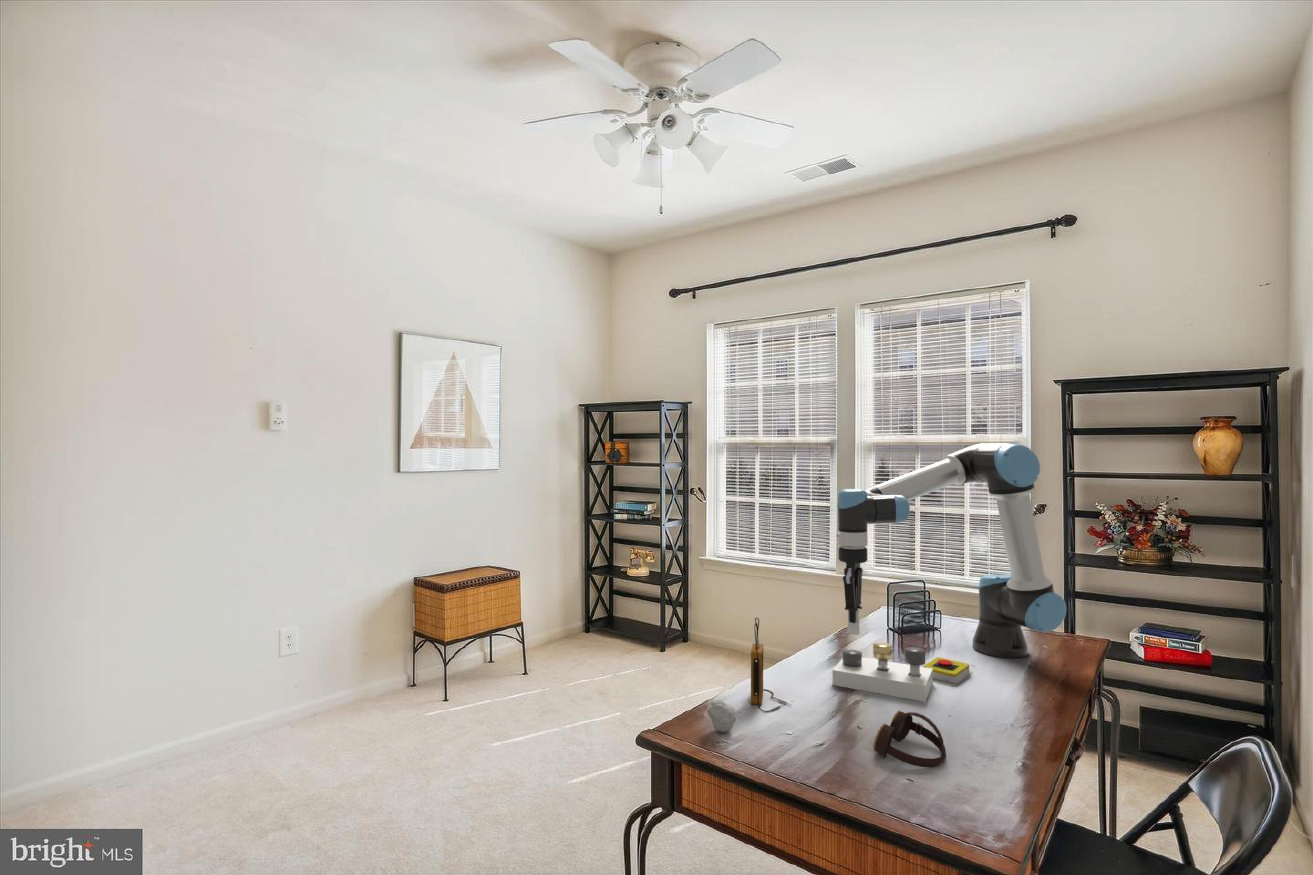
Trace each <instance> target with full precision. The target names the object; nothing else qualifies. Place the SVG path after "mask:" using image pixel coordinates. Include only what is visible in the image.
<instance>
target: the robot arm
mask: <svg viewBox="0 0 1313 875" xmlns="http://www.w3.org/2000/svg"><path fill="white" fill-rule="evenodd" d="M1040 472H1041V465H1040V461H1039V458H1038V456H1037V454H1036V453H1035V452H1034V451H1033V450H1032V449H1031V448H1029V447H1028V446H1025V445H1023V444H1018V443H1012V442H1008V443H1007V442H1006V443H1004V442H1001V443H999V442H998V443H995V442H993V443H991V442H984V443H983V442H981V443H978V444H974V445H971V446H970V445H969V446H968V447H965V448H962V449H960V450H958V451H954V452H952V453H950V454H947V455H945V456H944V458H943V459H942V460H940V461H938V462H935V463H933V464H930V465H928V466H925V467H922V468H919V469H917V470H913V471H911V472H909V473H906V474H903V475H901V476H899V477H896V478H893V479H890V480H888V481H885V482H883V483H879V484H877V485H874V486H871V487H868V488H866V489H862V488H845V489H841V490H840V491H839V492H838V493H837V494H838V496H837V516H838V517H837V520H838V521H837V523H838V524H837V526H838V527H837V529H838V533H836V537H837V538H838V545H839V547H838V560H839V561H840V562H842V563H845V564H846V565H845V568H844V569H843V570H844V571H843V574H844V575H843V577H842V581H843V587H844V601H845V607H844V611H847V634H849V635H855V636H859V635H860V633H861V632H860V610H862V609H863V605H862V606H861V604H862V585H863V584H862V583H863V572H864V570H863V568H862V567H861V564H864V563H867V562H868V548H867V547H868V525H873V524H897V523H904V522H905V521H907V520H908V518H909V516H910V514H911V512H910V510H911V509H910V508H911V506H910V504H909V502H910V501H912V500H915V499H917V498H920V497H923V496H925V495H928V494H930V493H933V492H936V491H939V490H941V489H944V488H947V487H949V486H953V485H955V486H961V485H964V484H967V483H975V482H976V483H979V482H981V483H986V484H987V489H988V494H989V495H991V497H993V498H995V500H996V504H997V510H998V515H999V520H1000V521H999V522H1000V525H1001V532H1002V536H1003V542H1004V547H1005V553H1006V557H1007V562H1008V568H1009V573H1010V574H984V575H982V576H980V578H979V584H978V625H977V627H976V629H975V632H974V636H973V638H972V648H973V649H974V650H976V651H977V652H978V653H981V654H985V655H988V656H991V657H992V656H993V657H1000V658H1007V659H1009V658H1010V659H1011V658H1012V659H1015V658H1016V659H1017V658H1024V657H1027V655H1028V654H1029V647H1028V643H1027V640H1026V637H1025V635H1024V632H1023V628H1022V626H1023V627H1025V628H1028V629H1029V630H1031V631H1034V632H1035V631H1037V632H1039V633H1051V632H1052V631H1055V630H1056V629H1058V628H1059V627H1061V625H1062V622H1063V621H1065V618H1066V615H1067V605H1066V604H1067V603H1066V601H1065V599H1064V598H1063V597H1062V596H1060V594H1059V593H1056V592H1055V591H1054V586H1053V585H1054V584H1053V581H1052V579H1051V578H1050V577H1048V576H1046V575H1045V570H1044V564H1043V560H1042V554H1041V548H1040V543H1039V536H1038V534H1037V532H1038V531H1037V528H1036V522H1035V516H1034V511H1033V505H1032V500H1031V493H1032V492H1033V491H1034V490H1035V483H1036V481H1037V480H1038V478H1039V477H1038V476H1039V475H1040Z"/></svg>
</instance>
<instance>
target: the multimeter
mask: <svg viewBox="0 0 1313 875" xmlns="http://www.w3.org/2000/svg"><path fill="white" fill-rule="evenodd" d="M754 622H755V623H754V628H753V629H754V640H755V643H752V645H751V650H750V704H751V705H757V706H758V708H759V711H762V712H764V713H769V712H772V711H776V710H777V709H780V708H781V707H783V706H784V705H789V706H792V704H791V703H788V702H787V701H785V700H782V699H780V698H776V697H773V696H774V692H773V691H771V690H769V689H765V688H764V643H760V642H759V641H760V640H759V628H760V619H759V617H755V618H754ZM763 689H764V690H763ZM766 690H767V692H769V691H770V693H771V695H770V697H771V699H775V700H776V701H778V702H779V703H783V704H780V705H777V706H775V707H773V708H771V709H770V710H764V709H762V708H761V707H760V705H763V697H764V691H766Z"/></svg>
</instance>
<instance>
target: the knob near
mask: <svg viewBox="0 0 1313 875" xmlns="http://www.w3.org/2000/svg"><path fill="white" fill-rule="evenodd" d="M904 662H905V663H907V665H910V676H915V677H920V667H921V666H924V665H925V664H926V650H924V649H923V648H921V647H920V648H919V647H916V646H915V647H911V646H910V647H905V648H904Z"/></svg>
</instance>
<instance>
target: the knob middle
mask: <svg viewBox="0 0 1313 875" xmlns="http://www.w3.org/2000/svg"><path fill="white" fill-rule="evenodd" d="M893 656H894V646H893V644H890V643H887V642H874V643H873V644H872V657H873V659H874V658H875V660H878V670H879V671H885V672H888V662H889V661H890V660H893V659H894V657H893Z"/></svg>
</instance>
